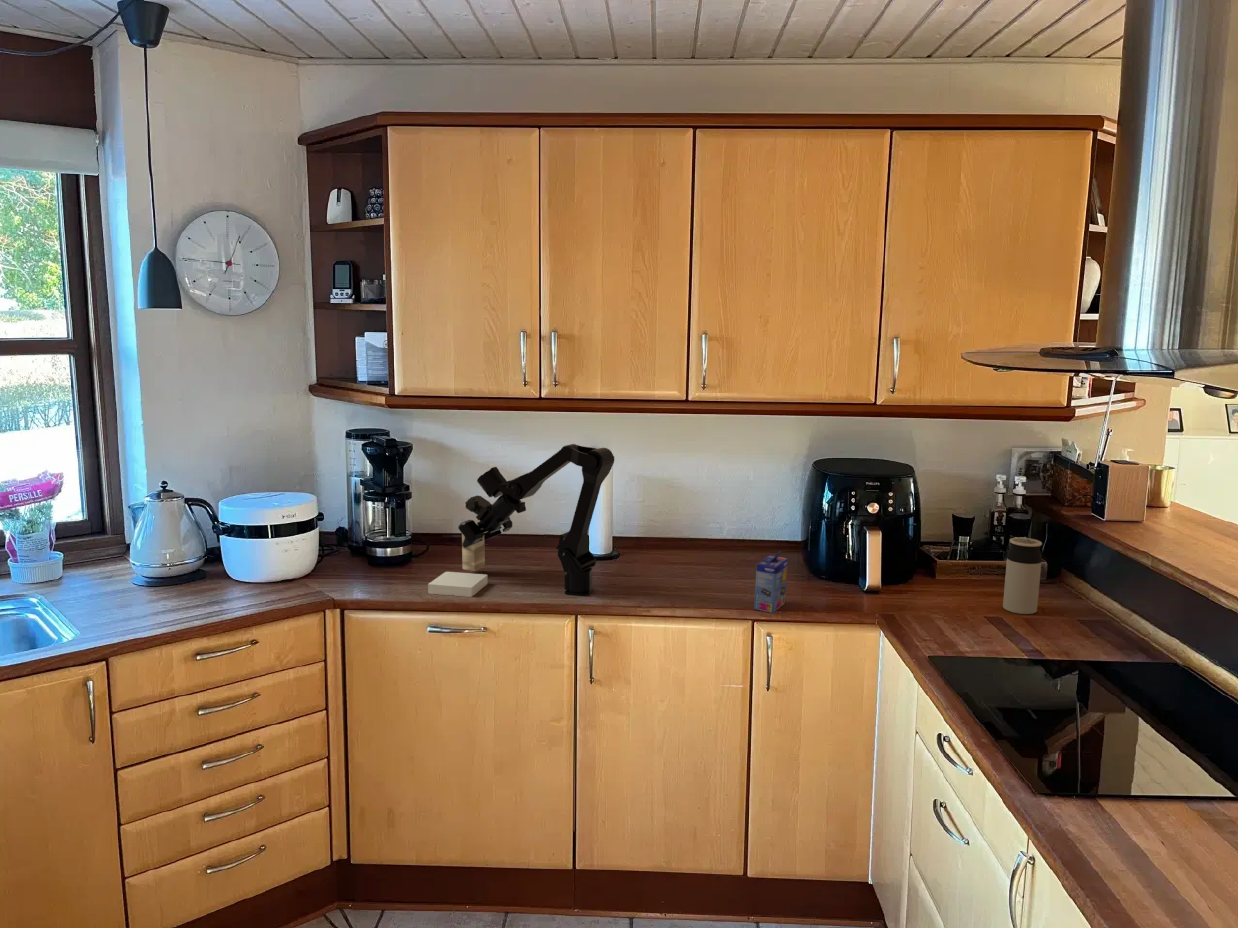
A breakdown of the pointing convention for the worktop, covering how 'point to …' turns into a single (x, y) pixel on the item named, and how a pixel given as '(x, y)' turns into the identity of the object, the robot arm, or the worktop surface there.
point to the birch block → (473, 555)
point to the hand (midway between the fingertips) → (469, 544)
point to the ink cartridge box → (770, 583)
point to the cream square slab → (458, 584)
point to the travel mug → (1022, 576)
